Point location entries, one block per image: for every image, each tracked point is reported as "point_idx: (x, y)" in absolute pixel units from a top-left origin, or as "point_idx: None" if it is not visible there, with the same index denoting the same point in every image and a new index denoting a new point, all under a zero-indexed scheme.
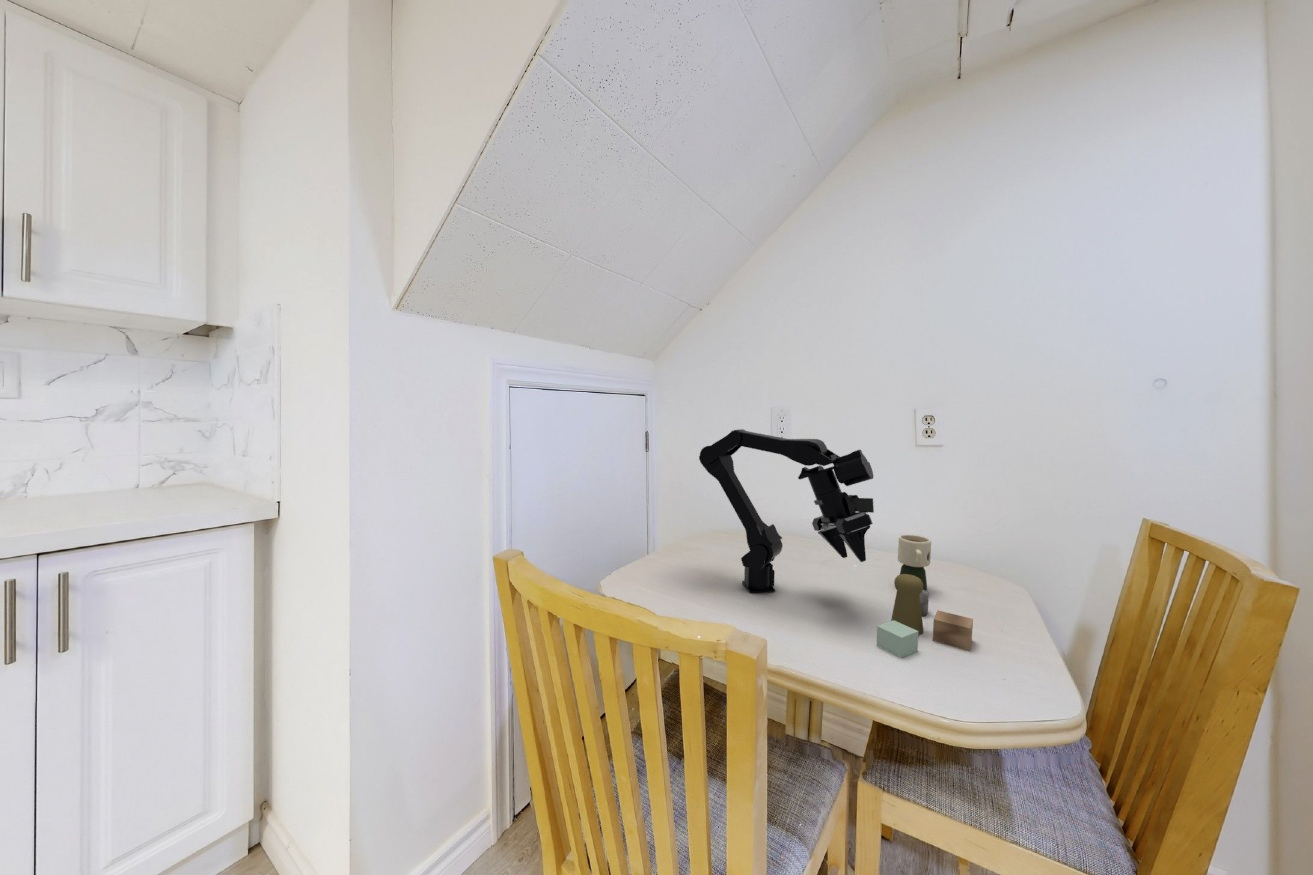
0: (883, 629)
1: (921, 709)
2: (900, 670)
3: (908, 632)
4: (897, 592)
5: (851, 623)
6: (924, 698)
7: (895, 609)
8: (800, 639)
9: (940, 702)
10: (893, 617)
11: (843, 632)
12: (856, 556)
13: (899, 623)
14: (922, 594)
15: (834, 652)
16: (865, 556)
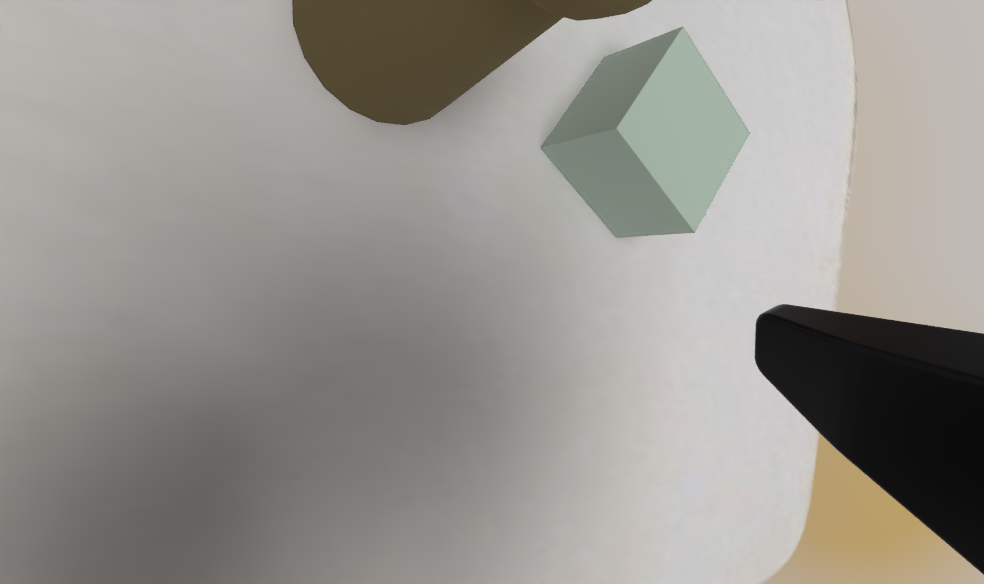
0: (709, 205)
1: (848, 155)
2: (733, 171)
3: (704, 85)
4: (551, 16)
5: (450, 357)
6: (817, 133)
7: (484, 73)
8: (668, 552)
9: (819, 92)
10: (445, 98)
11: (559, 389)
12: (844, 437)
13: (641, 104)
14: None
15: (706, 403)
16: (839, 314)
